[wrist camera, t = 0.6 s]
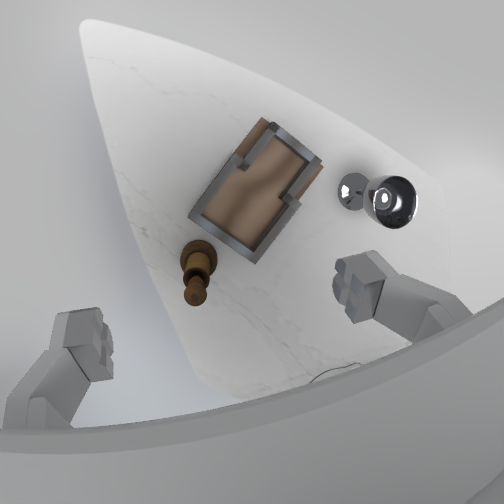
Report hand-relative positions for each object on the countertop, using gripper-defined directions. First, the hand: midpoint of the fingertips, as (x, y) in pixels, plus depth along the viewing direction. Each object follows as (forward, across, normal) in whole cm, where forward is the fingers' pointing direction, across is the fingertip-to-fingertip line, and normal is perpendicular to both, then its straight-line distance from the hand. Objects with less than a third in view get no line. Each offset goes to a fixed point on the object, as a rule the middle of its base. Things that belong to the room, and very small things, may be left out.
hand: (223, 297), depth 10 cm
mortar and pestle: (+40, +2, -27) cm, 49 cm away
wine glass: (+39, +32, -18) cm, 54 cm away
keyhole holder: (+42, +14, -16) cm, 47 cm away
